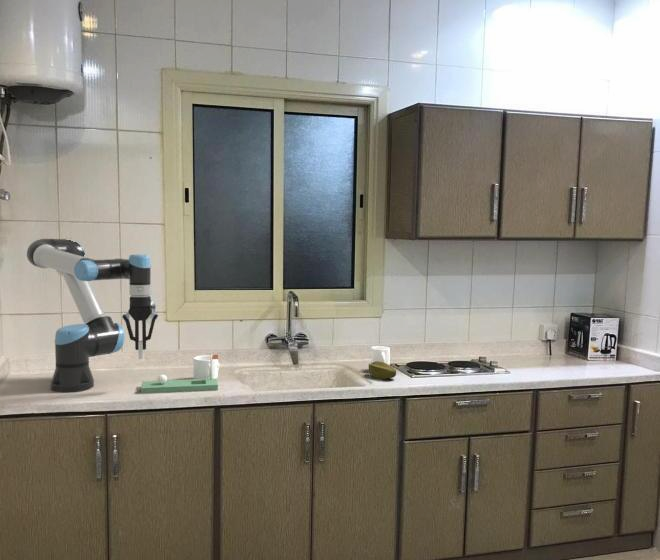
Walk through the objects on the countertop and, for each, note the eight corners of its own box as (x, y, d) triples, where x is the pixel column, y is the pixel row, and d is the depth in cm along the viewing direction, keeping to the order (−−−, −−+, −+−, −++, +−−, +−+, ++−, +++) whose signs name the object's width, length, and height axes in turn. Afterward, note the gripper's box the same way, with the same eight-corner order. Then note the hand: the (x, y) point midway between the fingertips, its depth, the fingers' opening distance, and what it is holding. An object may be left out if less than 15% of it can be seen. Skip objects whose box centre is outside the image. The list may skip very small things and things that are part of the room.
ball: (157, 385, 225) (157, 375, 225) (157, 382, 229) (157, 373, 228) (167, 384, 226) (167, 375, 226) (167, 382, 230) (167, 373, 229)
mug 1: (224, 382, 240) (224, 360, 239) (198, 385, 235) (198, 362, 234) (215, 375, 250) (215, 354, 249) (190, 378, 245) (191, 356, 245)
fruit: (369, 380, 248) (369, 365, 247) (367, 373, 260) (368, 358, 259) (396, 381, 248) (397, 365, 247) (394, 374, 260) (394, 359, 259)
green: (141, 393, 221) (140, 361, 220) (142, 386, 230) (142, 355, 229) (219, 389, 228) (219, 359, 227) (217, 383, 238) (217, 353, 237)
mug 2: (392, 374, 259) (393, 351, 258) (373, 374, 258) (374, 351, 257) (387, 368, 271) (388, 346, 270) (369, 368, 270) (370, 346, 269)
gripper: (120, 297, 217) (121, 361, 219) (158, 296, 221) (158, 359, 222) (122, 295, 224) (123, 357, 226) (158, 294, 228) (159, 355, 230)
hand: (140, 358), depth 224 cm, fingers closed
